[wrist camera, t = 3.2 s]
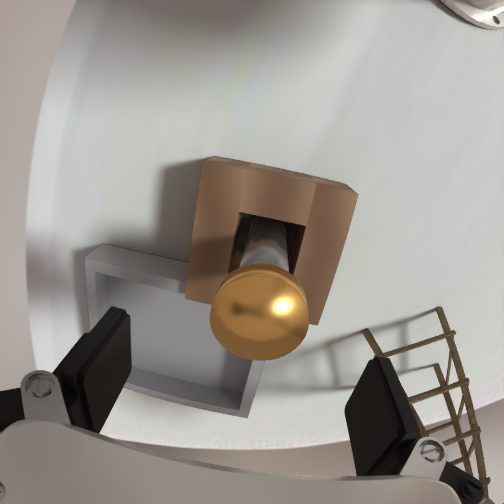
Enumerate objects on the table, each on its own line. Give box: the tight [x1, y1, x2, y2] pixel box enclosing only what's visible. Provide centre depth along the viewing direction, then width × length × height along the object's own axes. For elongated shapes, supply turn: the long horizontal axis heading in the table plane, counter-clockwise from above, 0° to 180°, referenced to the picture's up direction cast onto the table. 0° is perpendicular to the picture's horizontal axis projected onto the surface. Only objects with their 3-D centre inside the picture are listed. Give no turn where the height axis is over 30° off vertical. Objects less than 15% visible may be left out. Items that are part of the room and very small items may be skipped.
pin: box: [210, 216, 309, 361], centre depth 19 cm, size 4×4×12 cm
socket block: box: [185, 156, 358, 325], centre depth 23 cm, size 10×10×4 cm
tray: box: [85, 244, 265, 418], centre depth 27 cm, size 16×14×3 cm
